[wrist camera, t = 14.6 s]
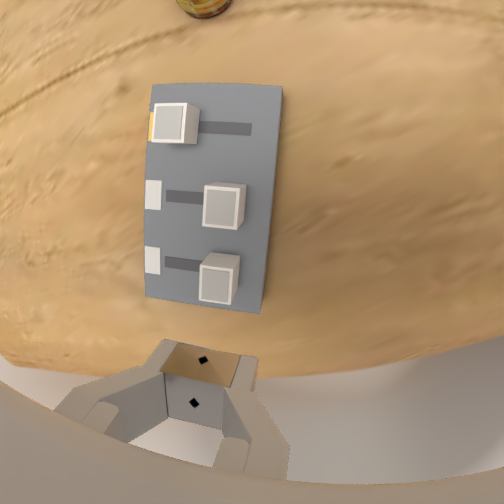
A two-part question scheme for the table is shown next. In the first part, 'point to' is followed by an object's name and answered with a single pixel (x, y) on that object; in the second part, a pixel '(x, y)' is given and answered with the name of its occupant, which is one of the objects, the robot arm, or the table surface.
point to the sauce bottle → (203, 7)
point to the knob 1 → (175, 123)
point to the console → (206, 172)
